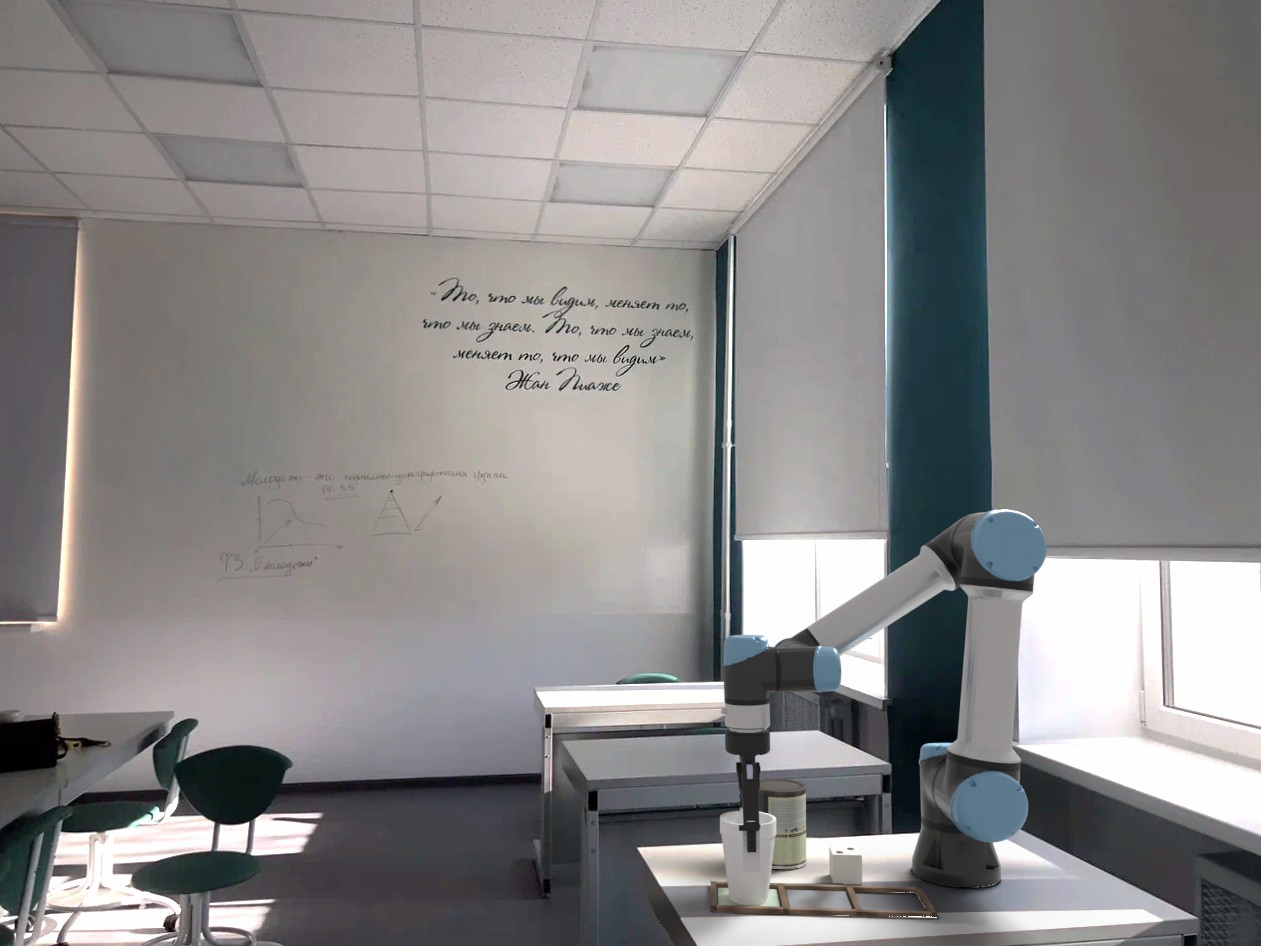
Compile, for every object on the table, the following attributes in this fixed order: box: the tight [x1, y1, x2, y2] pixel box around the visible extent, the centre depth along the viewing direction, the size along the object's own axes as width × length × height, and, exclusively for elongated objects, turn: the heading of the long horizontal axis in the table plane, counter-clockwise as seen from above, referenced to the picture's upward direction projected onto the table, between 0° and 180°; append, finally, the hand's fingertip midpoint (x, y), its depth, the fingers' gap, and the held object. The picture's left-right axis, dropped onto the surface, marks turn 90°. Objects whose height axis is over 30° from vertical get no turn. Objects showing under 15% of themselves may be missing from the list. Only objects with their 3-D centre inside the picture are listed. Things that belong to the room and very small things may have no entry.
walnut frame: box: [709, 880, 939, 918], centre depth 162 cm, size 36×12×1 cm, turn 85°
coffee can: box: [758, 778, 808, 870], centre depth 184 cm, size 10×10×14 cm
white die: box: [828, 845, 863, 885], centre depth 174 cm, size 5×5×5 cm
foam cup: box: [719, 810, 776, 905], centre depth 164 cm, size 10×9×13 cm
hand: (750, 858), depth 164 cm, fingers open, 13 cm apart
